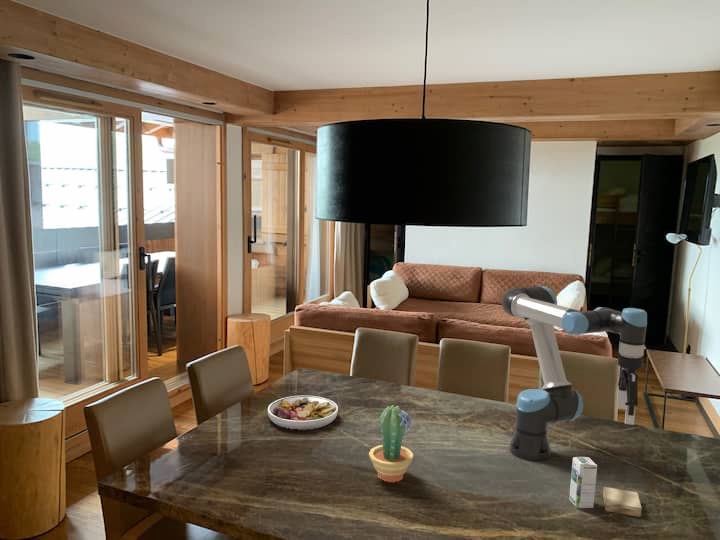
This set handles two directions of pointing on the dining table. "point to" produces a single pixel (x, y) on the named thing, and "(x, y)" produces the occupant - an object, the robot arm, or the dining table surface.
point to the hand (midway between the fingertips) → (625, 416)
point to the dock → (622, 501)
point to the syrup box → (583, 482)
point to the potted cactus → (392, 445)
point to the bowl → (302, 412)
